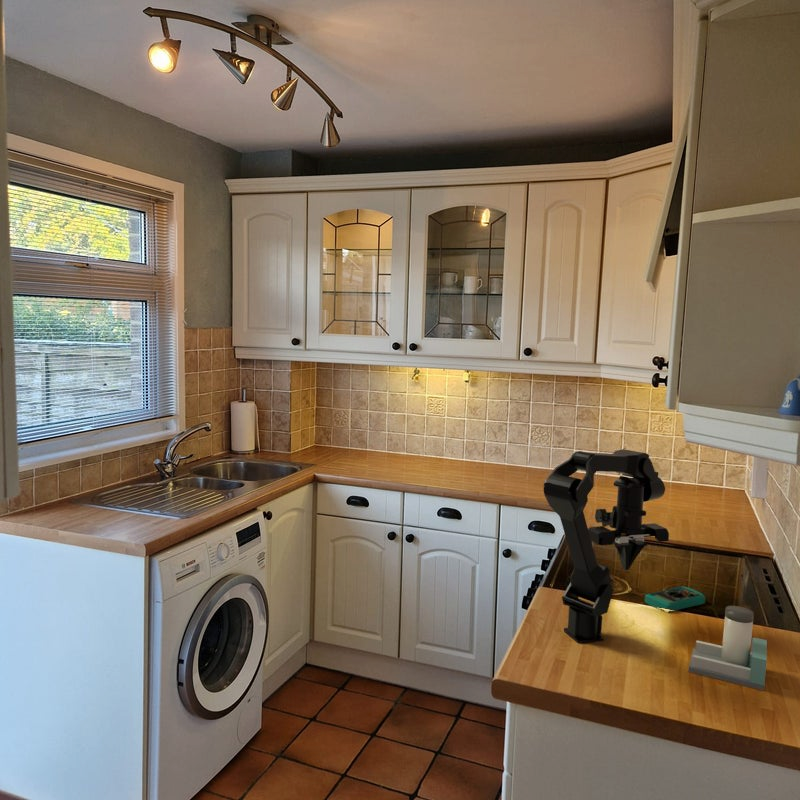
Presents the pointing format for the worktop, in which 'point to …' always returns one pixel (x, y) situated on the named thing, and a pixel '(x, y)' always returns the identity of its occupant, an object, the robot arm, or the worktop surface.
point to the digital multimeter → (675, 598)
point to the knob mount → (712, 665)
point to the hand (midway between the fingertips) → (625, 569)
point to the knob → (737, 635)
